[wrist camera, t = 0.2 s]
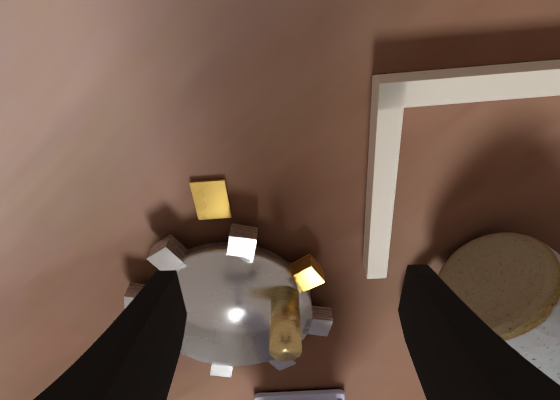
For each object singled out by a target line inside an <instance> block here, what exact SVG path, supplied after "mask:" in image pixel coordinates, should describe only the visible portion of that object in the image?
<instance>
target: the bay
mask: <svg viewBox="0 0 560 400" xmlns="http://www.w3.org/2000/svg"><path fill="white" fill-rule="evenodd" d="M555 95H560V59H558V60H546V61H534V62H522V63H511V64H499V65H487V66H475V67H463V68H451V69H439V70H427V71H415V72H403V73H392V74H380V75H372V93H371V112H370V131H369V150H368V169H367V188H366V207H365V226H364V245H363V266H364V270H365V273H366V277H367V279H377V278H386V277H387V267H388V257H389V247H390V238H391V228H392V218H393V208H394V198H395V189H396V179H397V169H398V159H399V150H400V140H401V130H402V120H403V111H404V108H405V107H418V106H430V105H443V104H455V103H468V102H480V101H493V100H505V99H518V98H530V97H543V96H555Z"/></svg>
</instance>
